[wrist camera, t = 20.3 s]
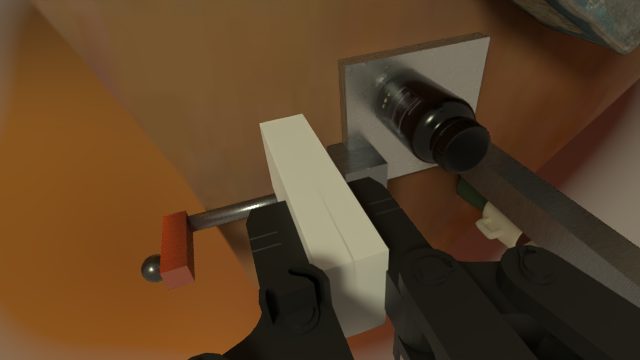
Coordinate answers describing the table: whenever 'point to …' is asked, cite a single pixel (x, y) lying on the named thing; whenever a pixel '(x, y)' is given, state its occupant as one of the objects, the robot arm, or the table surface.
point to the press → (490, 174)
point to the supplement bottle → (432, 122)
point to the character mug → (493, 218)
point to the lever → (190, 240)
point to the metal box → (590, 20)
